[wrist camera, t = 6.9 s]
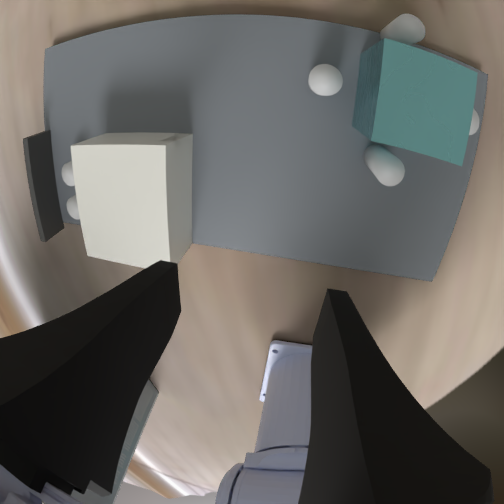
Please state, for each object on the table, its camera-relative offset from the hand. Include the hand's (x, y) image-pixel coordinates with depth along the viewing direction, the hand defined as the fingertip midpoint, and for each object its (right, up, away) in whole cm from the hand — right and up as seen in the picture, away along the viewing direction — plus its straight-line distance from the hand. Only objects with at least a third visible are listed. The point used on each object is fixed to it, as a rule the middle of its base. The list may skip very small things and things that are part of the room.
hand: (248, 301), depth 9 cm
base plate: (-1, +8, +6) cm, 10 cm away
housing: (-6, +6, +8) cm, 12 cm away
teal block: (+7, +9, +3) cm, 12 cm away
